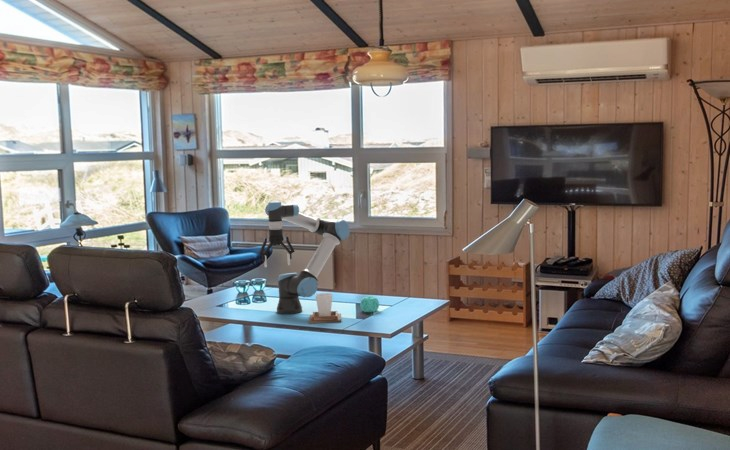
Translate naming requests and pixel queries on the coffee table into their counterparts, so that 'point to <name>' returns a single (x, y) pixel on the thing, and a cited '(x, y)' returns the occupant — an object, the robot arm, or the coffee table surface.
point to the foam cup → (324, 303)
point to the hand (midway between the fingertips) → (277, 266)
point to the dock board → (325, 318)
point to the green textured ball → (369, 304)
